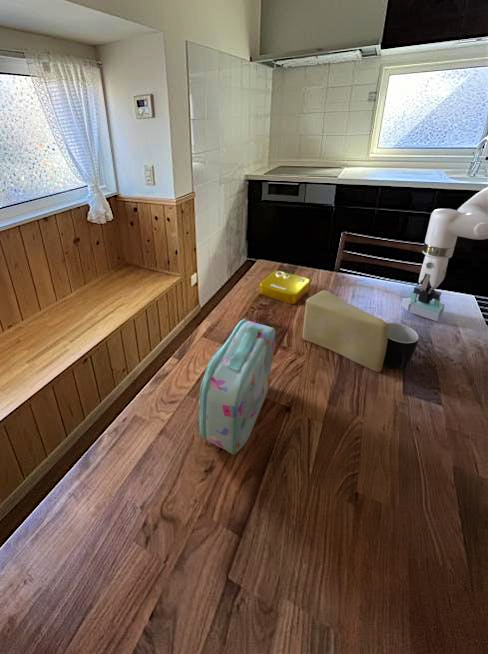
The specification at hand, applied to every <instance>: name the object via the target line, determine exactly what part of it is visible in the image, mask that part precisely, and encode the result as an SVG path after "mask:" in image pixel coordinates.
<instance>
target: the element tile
mask: <svg viewBox="0 0 488 654" xmlns="http://www.w3.org/2000/svg"><path fill="white" fill-rule="evenodd" d="M309 290H310V279H309V278H307V277H303V276H300V275H297V274H293V273H288V272H285V271H282V270H274V271H272V272H271V273H270V274H269V275H268V276H266V277H265V278H264V279H263V280H261V281H260V282H259V294H260V295H262V296H264V297H268V298H271V299H274V300H277V301H280V302H283V303H286V304H289V305H295V304H296V303H298V302H299V301H300V300H301V299H302V298H303V297H304V296H305V294H306V293H307V292H308V291H309Z"/></svg>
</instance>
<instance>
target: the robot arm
mask: <svg viewBox="0 0 488 654" xmlns="http://www.w3.org/2000/svg"><path fill="white" fill-rule="evenodd" d="M458 237H461V238H465V239H470V240H480V241H481V240H488V186H487V187H485V188H483V189H482V190H480V191H479V192H477V193H475V194H474V195H473V196H472V197H470V198H469V199H467V201H465V202H464V203H463V204H461V206H460V207H458V208H457V209H453V208H437V209H434V210H433V211H432V213H431V214H430V218H429V221H428V226H427V231H426V235H425V239H424V243H423V248H422V251H421V252H422V254H423V255H424V258H423V262H422V266H421V269H420V273H419V278H418V284H419V285H421V286H420V287H421V290H420V293H419V294H418V297H417V298H418V301H420V302H423V303H426V304H429V303H430V300H432V301H433V299H432V298H431V296H432V293H431V292H432V290H434V291H436V288H438V287H439V286H440V285H441V284H442V282H444V280H445V277H446V273H447V268H448V263H449V259H451V258H452V257H453V254H454V251H455V247H456V243H457V239H458Z"/></svg>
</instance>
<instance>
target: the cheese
mask: <svg viewBox="0 0 488 654" xmlns="http://www.w3.org/2000/svg"><path fill="white" fill-rule="evenodd" d="M304 307H305V308H304V318H303V329H302V340H304V341H306V342H309V343H312V344H314V345H317V346H318V347H321V348H324V349H326V350H329V351H331V352H334V353H336V354H338V355H340V356H342V357H344V358H346V359H347V360H350V361H351V362H354V363H356V364H358V365H360V366H362V367H364V368H366V369H368V370H371V371H373V372H375V373H380V372H381V371H382V370H383V366H384V365H383V362H384V358H385V353H386V348H387V340H388V328H389V327H388V324H387V323H388V322H387V321H385V320H383V319H381V318H380V317H377V316H375V315H372V314H370V313H369V312H367V311H365V310H363V309H360V308H358V307H356V306H354V305H352V304H350V303H349V302H347V301H345V300H344V299H342V298H340V297H338V296H337V295H335V294H333V293H332V292H330V291H328V290H326V289H324V290H323V289H322V290H321V291H318V292H317V293H315V294H314V295H311V296H310V297H308V298H307V299H306V300H305V306H304Z"/></svg>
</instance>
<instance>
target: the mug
mask: <svg viewBox="0 0 488 654" xmlns="http://www.w3.org/2000/svg"><path fill="white" fill-rule="evenodd" d="M386 323H387V324H388V327H389V328H388V340H387V348H386V353H385V358H384V362H383V366H384V367H386V368H388V369H392V370H399V371H404V370H406V369H407V367H408V364H409V363H410V361H411V359H412V357H413V355H414V353H415V351H416V348H417V346H418V343H419V338H420V337H419V334H418V333H417V331H416V330H415V329H413V328H412V327H410V326H408V325H406V324H403V323H399V322H386Z"/></svg>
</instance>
